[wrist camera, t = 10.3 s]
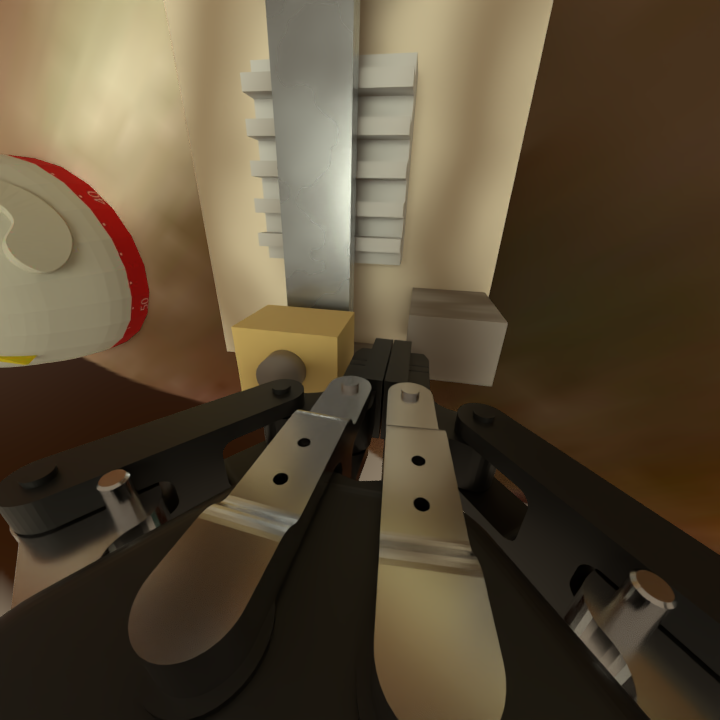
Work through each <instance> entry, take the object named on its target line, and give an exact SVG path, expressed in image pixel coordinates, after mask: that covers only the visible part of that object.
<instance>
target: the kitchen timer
mask: <svg viewBox="0 0 720 720" xmlns="http://www.w3.org/2000/svg"><path fill="white" fill-rule="evenodd" d="M148 300H149V288H148V283H147V278H146V273H145V267H144V264H143V262H142V259H141V257H140V255H139V252H138V250H137V248H136V245H135V243H134V241H133V238H132V236H131V235H130V233H129V232H128V230H127V229H126V228H125V226H124V225H123V223H122V222H121V220H120V219H119V217H118V216H117V214H116V213H115V211H114V210H113V209H112V208H111V207H110V206H109V205H108V204H107V203H106V202H105V201H104V200H103V199H102V198H101V197H100V196H99V195H98V194H97V193H96V192H95V191H94V190H93V189H92V188H91V187H90V186H89V185H88V184H87V183H85V182H84V181H82V180H81V179H79V178H78V177H76V176H75V175H73V174H71V173H70V172H68V171H67V170H65V169H64V168H62V167H60V166H57V165H54V164H50V163H47V162H44V161H41V160H38V159H35V158H27V157H20V156H12V155H0V367H17V366H27V365H35V364H41V363H49V362H57V361H64V360H69V359H75V358H78V357H83V356H87V355H90V354H94V353H97V352H101V351H104V350H107V349H110V348H112V347H115V346H117V345H119V344H122V343H124V342H126V341H128V340H129V339H130V338H131V337H132V336H134V335H135V334H136V333H137V332H138V331H139V330H140V328H141V326H142V324H143V322H144V320H145V318H146V315H147V312H148Z"/></svg>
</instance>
